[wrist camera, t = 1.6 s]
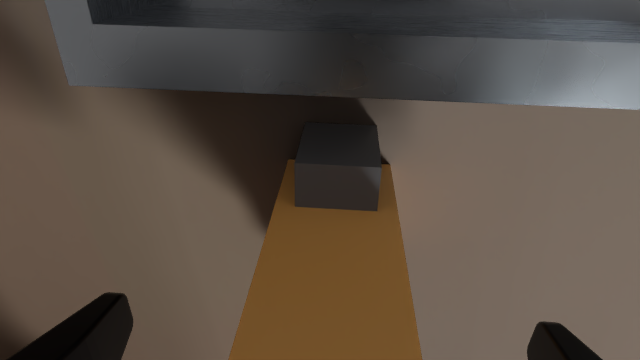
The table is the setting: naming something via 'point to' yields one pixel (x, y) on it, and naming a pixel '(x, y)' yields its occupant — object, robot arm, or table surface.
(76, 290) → the table surface
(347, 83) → the channel
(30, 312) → the table surface
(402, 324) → the orange bar
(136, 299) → the table surface
